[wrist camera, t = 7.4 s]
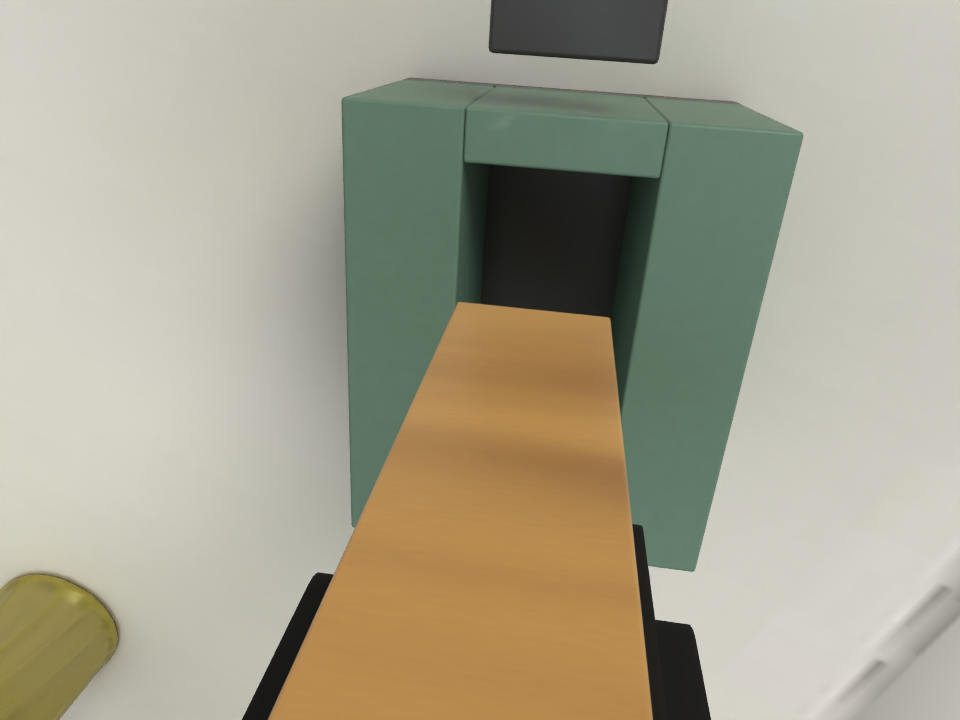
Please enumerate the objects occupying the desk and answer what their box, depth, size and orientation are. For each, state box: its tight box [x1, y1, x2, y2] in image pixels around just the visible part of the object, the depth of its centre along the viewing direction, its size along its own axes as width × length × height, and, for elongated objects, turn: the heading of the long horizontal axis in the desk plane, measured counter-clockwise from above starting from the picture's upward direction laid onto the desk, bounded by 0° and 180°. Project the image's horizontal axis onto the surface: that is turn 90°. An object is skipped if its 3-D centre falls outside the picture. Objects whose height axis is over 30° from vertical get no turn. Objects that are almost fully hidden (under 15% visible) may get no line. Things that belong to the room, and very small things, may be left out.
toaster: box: [342, 78, 803, 572], centre depth 21 cm, size 12×10×7 cm
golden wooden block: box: [268, 302, 653, 720], centre depth 9 cm, size 8×2×8 cm, turn 177°
